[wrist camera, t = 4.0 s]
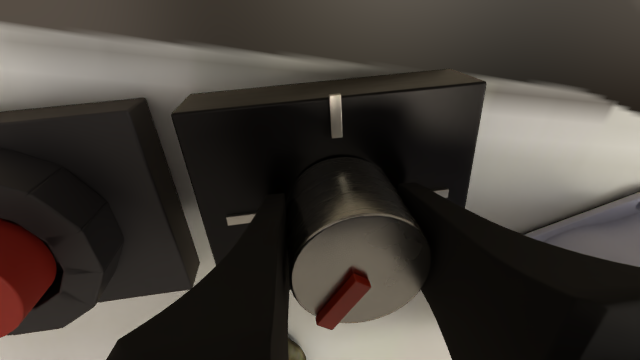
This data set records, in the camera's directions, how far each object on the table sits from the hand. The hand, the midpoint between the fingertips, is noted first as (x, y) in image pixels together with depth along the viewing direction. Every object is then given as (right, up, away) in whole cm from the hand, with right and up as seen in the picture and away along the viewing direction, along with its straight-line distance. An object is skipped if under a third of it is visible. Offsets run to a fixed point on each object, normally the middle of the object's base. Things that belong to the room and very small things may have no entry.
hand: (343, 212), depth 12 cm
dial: (0, 0, 0) cm, 0 cm away
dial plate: (0, +1, +3) cm, 3 cm away
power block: (-12, 0, +2) cm, 12 cm away
